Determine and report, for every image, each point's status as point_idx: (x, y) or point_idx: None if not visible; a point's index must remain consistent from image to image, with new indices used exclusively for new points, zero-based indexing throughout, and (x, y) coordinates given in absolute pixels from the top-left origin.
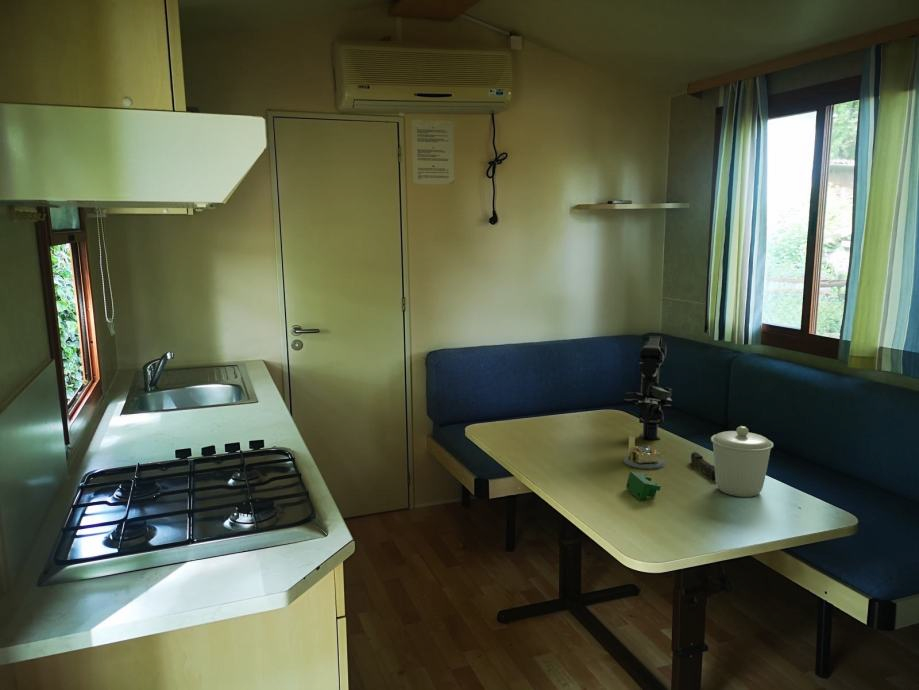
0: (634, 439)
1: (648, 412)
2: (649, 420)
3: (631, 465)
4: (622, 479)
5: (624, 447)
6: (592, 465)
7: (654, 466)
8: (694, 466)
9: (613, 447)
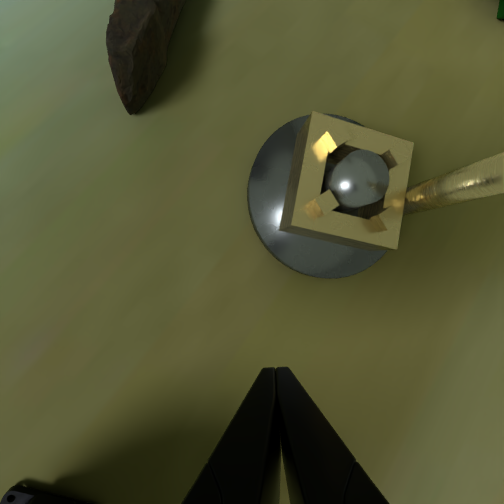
0: (485, 159)
1: (324, 478)
2: (257, 379)
3: None
4: (479, 98)
5: None
6: (494, 255)
7: (338, 118)
8: (165, 65)
9: None
